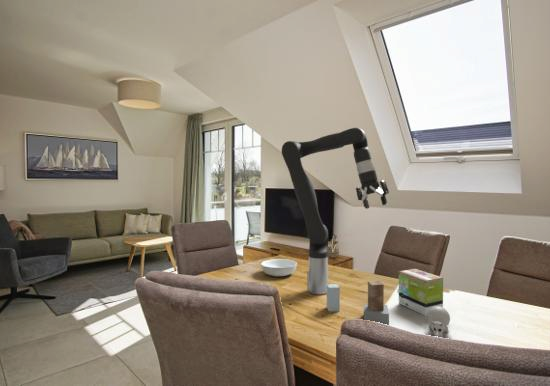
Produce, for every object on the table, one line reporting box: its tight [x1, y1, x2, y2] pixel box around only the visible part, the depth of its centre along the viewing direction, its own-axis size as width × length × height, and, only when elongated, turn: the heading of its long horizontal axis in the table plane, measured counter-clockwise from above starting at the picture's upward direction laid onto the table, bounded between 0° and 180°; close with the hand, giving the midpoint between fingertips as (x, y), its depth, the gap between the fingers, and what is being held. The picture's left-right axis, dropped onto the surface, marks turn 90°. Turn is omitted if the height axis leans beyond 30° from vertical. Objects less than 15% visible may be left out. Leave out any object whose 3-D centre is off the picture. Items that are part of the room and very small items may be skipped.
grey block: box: [363, 302, 390, 326], centre depth 126 cm, size 9×9×5 cm
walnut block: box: [367, 280, 385, 311], centre depth 126 cm, size 4×4×10 cm
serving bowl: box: [260, 258, 298, 278], centre depth 191 cm, size 21×21×7 cm
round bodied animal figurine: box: [427, 306, 451, 338], centre depth 115 cm, size 7×12×8 cm, turn 148°
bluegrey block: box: [326, 283, 341, 312], centre depth 138 cm, size 4×4×10 cm
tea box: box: [398, 268, 444, 317], centre depth 138 cm, size 15×10×15 cm, turn 23°
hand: (375, 206), depth 145 cm, fingers open, 8 cm apart
